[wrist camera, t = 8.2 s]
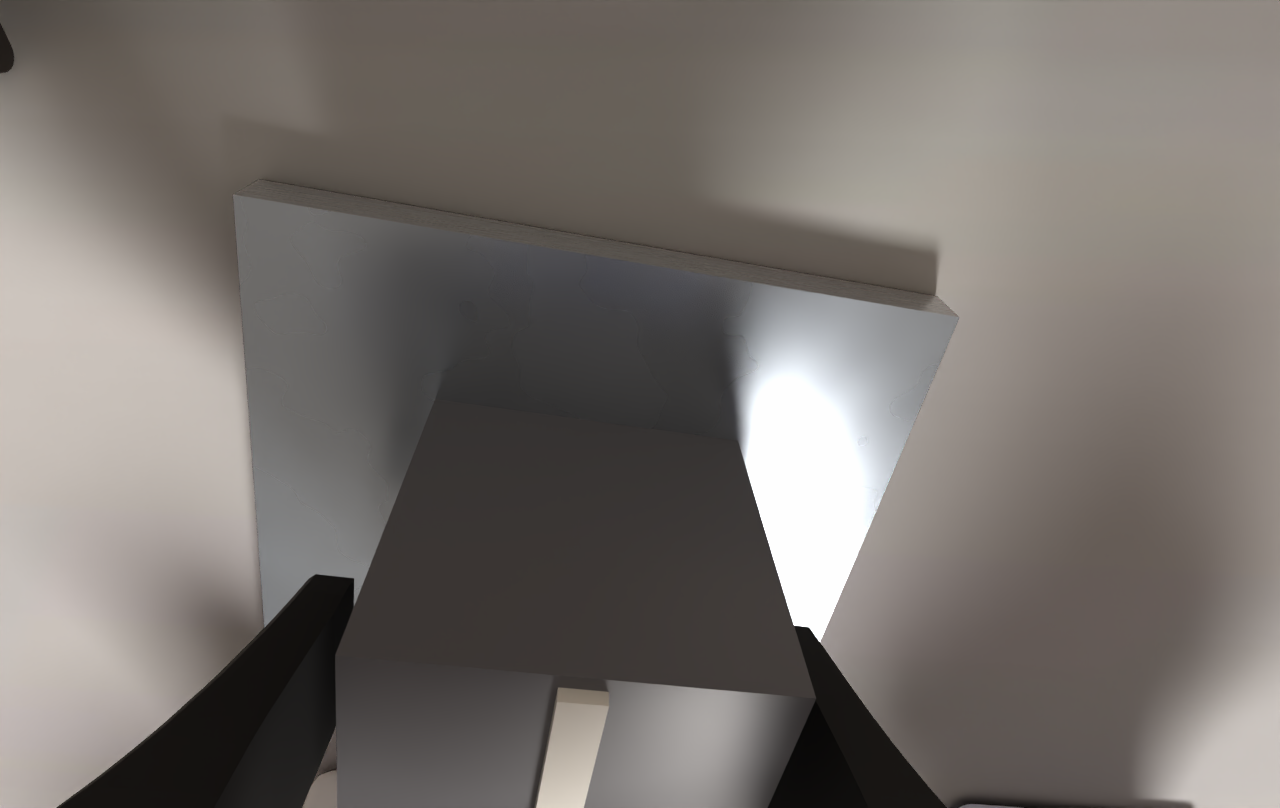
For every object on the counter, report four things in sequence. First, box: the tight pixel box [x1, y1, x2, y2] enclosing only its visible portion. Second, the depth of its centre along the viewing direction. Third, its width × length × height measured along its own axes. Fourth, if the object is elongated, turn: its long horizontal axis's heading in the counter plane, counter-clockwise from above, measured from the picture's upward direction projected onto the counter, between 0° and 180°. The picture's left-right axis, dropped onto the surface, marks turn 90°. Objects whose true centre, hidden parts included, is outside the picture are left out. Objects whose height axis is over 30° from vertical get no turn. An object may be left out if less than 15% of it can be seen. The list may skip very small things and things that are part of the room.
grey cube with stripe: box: [335, 399, 816, 808], centre depth 12 cm, size 6×6×6 cm
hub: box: [233, 179, 959, 642], centre depth 14 cm, size 12×12×5 cm
